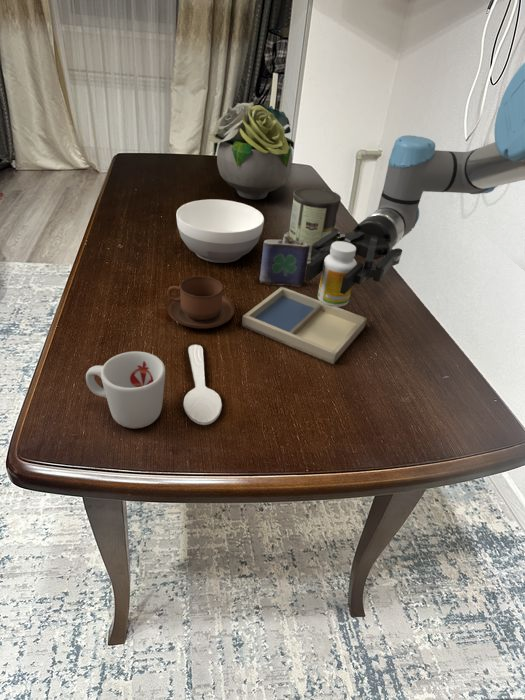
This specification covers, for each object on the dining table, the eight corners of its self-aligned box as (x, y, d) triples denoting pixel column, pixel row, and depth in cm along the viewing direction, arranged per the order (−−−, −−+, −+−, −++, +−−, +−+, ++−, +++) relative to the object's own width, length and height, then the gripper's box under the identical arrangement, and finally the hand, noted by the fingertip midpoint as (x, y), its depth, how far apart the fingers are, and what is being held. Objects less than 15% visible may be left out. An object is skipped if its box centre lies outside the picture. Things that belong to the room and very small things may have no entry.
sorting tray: (364, 327, 91) (366, 318, 89) (333, 364, 80) (335, 354, 79) (280, 295, 97) (281, 286, 96) (241, 326, 87) (242, 316, 86)
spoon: (211, 346, 81) (211, 343, 81) (224, 423, 67) (224, 420, 67) (178, 347, 80) (178, 344, 80) (185, 426, 66) (185, 423, 66)
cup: (75, 422, 65) (67, 376, 60) (105, 385, 71) (99, 341, 66) (152, 442, 63) (149, 395, 59) (175, 402, 70) (174, 358, 65)
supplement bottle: (355, 304, 82) (367, 251, 77) (329, 310, 80) (340, 255, 74) (336, 289, 86) (347, 237, 80) (311, 294, 84) (320, 241, 78)
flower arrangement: (196, 184, 147) (197, 93, 132) (269, 179, 157) (277, 94, 143) (231, 214, 130) (237, 114, 115) (310, 206, 140) (324, 113, 126)
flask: (259, 284, 100) (264, 234, 94) (259, 277, 103) (264, 228, 96) (304, 287, 101) (312, 238, 95) (302, 280, 103) (310, 232, 97)
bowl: (245, 233, 121) (248, 198, 115) (272, 268, 107) (277, 230, 102) (168, 237, 114) (168, 200, 109) (187, 275, 100) (187, 235, 95)
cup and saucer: (168, 336, 82) (167, 304, 79) (165, 299, 92) (165, 270, 88) (239, 333, 85) (241, 303, 81) (229, 298, 94) (230, 269, 91)
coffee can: (319, 244, 119) (330, 186, 111) (336, 263, 111) (348, 202, 103) (279, 245, 116) (287, 186, 108) (294, 265, 109) (303, 203, 100)
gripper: (419, 267, 91) (376, 320, 74) (330, 239, 98) (272, 281, 81) (431, 229, 87) (388, 276, 70) (337, 202, 93) (277, 239, 77)
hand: (325, 279), depth 76 cm, fingers closed on supplement bottle, 5 cm apart
